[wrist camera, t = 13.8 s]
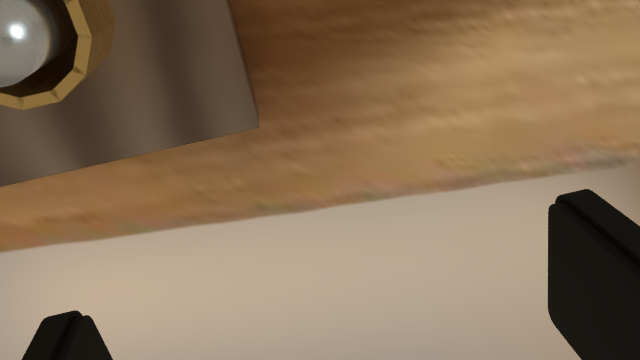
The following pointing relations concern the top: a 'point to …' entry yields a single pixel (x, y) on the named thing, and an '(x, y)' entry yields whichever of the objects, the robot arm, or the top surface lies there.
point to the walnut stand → (137, 93)
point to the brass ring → (92, 48)
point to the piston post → (32, 36)
